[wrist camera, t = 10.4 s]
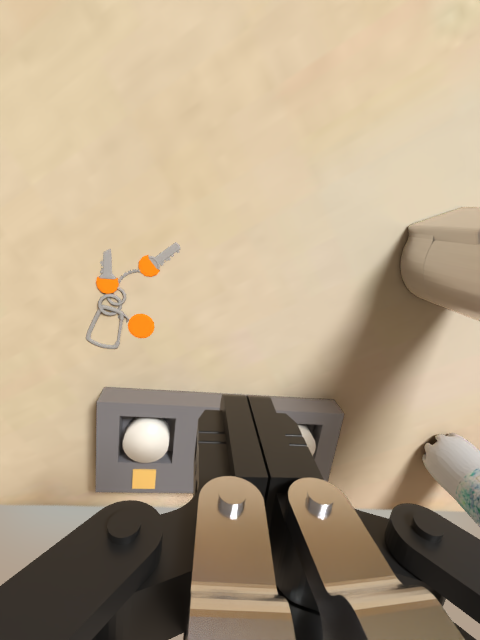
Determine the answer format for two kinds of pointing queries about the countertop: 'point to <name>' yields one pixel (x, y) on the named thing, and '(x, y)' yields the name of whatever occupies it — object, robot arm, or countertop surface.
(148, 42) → the countertop surface
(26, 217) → the countertop surface
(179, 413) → the panel
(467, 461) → the bottle
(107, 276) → the key chain
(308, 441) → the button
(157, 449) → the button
